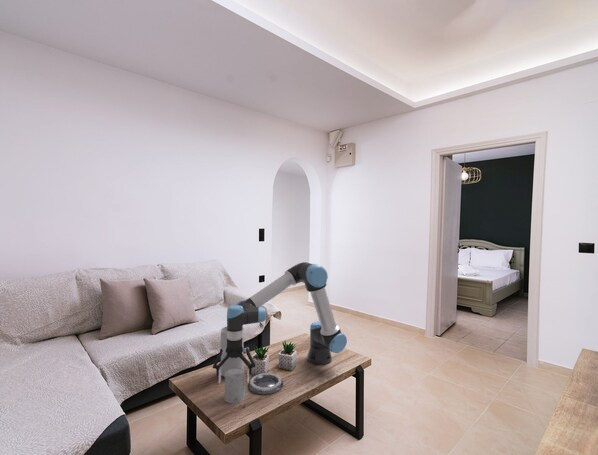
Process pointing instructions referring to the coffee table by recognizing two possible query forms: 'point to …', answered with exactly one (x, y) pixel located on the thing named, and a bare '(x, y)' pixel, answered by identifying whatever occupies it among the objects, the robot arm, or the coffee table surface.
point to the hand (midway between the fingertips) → (234, 381)
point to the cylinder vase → (229, 362)
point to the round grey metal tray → (265, 384)
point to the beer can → (234, 385)
